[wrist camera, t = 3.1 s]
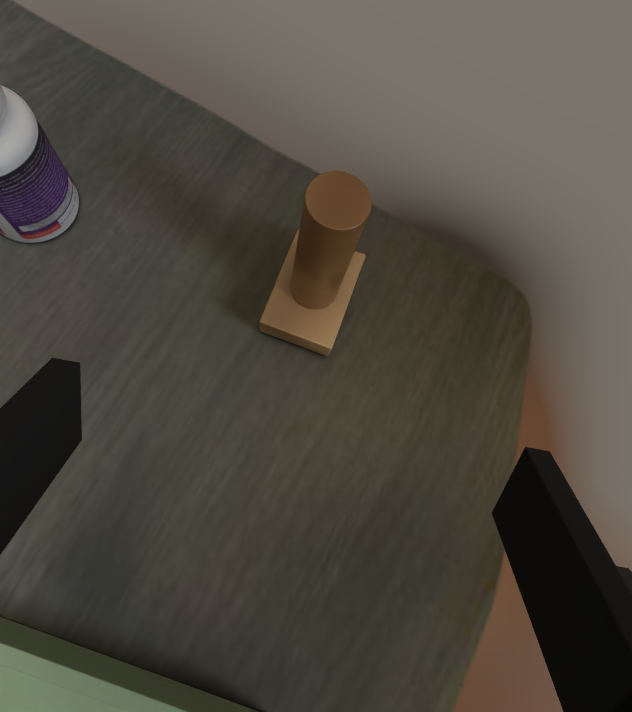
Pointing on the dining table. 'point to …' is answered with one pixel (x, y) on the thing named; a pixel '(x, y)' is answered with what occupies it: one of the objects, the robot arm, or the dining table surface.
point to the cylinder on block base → (320, 265)
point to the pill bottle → (31, 177)
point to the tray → (86, 680)
